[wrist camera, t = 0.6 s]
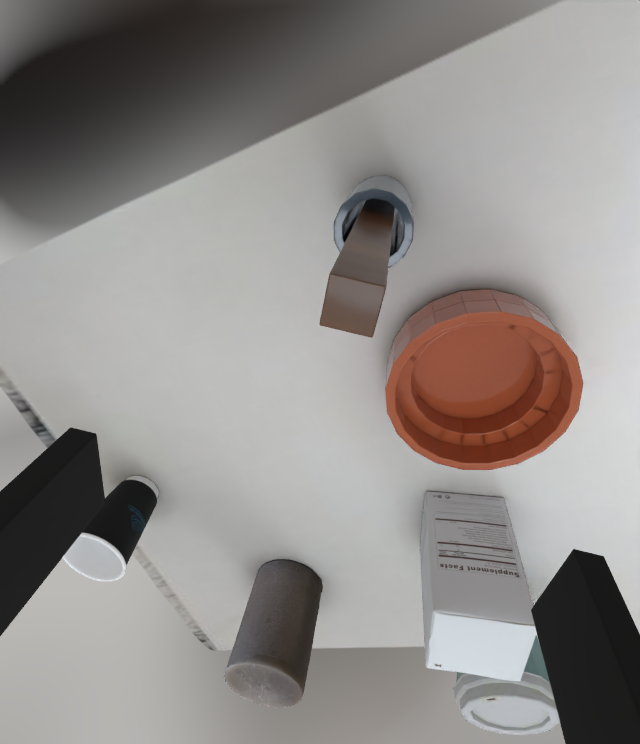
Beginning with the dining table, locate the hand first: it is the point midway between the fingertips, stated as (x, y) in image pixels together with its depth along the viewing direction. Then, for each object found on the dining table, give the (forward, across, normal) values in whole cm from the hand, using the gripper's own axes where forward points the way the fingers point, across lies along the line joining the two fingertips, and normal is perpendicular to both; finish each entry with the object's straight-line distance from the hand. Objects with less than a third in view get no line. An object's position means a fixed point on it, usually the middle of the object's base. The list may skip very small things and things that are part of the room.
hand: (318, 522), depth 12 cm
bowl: (+30, +11, -9) cm, 34 cm away
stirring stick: (+30, -1, +3) cm, 30 cm away
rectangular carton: (+31, +17, -29) cm, 45 cm away
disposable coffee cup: (+31, +23, -39) cm, 55 cm away
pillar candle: (+31, -2, -48) cm, 57 cm away
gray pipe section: (+30, -1, +4) cm, 31 cm away
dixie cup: (+31, -24, -37) cm, 53 cm away
